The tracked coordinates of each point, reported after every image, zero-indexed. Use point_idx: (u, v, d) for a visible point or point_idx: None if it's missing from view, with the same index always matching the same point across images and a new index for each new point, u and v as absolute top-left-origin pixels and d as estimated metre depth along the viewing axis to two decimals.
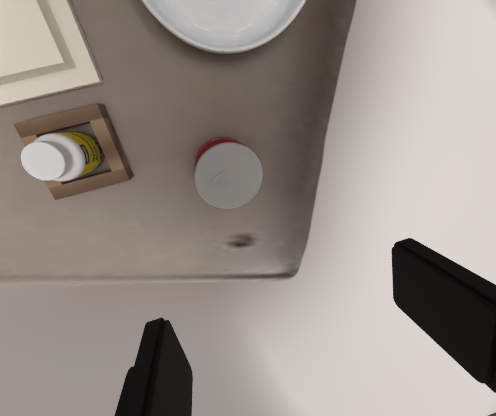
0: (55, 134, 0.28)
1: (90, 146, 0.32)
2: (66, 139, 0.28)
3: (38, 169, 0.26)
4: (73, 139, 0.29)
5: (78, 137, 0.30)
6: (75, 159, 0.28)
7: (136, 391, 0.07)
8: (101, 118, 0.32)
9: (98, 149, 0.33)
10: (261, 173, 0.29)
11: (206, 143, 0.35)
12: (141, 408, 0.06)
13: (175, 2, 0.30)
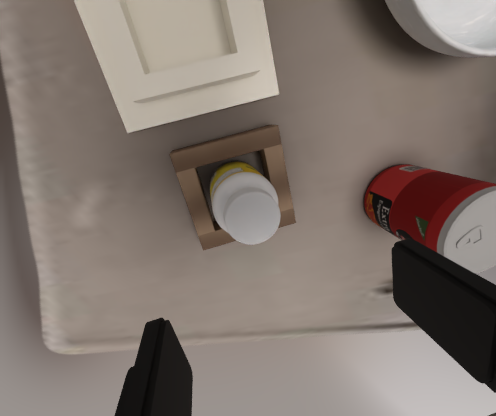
0: (251, 174, 0.19)
1: None
2: (265, 181, 0.19)
3: (245, 229, 0.18)
4: (267, 180, 0.20)
5: (259, 173, 0.22)
6: None
7: (136, 391, 0.07)
8: (279, 144, 0.23)
9: None
10: None
11: (394, 174, 0.27)
12: (141, 409, 0.06)
13: None
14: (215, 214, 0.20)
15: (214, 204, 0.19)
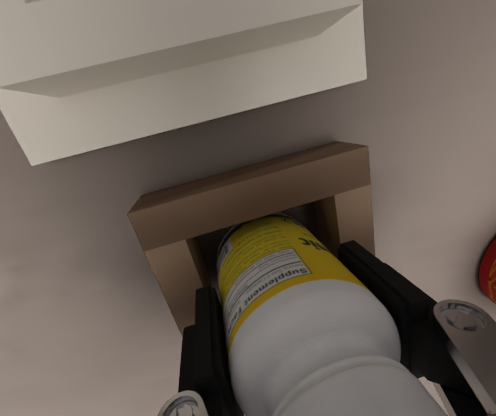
0: (339, 291, 0.07)
1: None
2: (378, 308, 0.07)
3: None
4: None
5: (335, 258, 0.09)
6: None
7: (202, 338, 0.08)
8: (366, 186, 0.11)
9: None
10: None
11: None
12: (211, 349, 0.07)
13: None
14: (238, 399, 0.07)
15: (236, 376, 0.07)
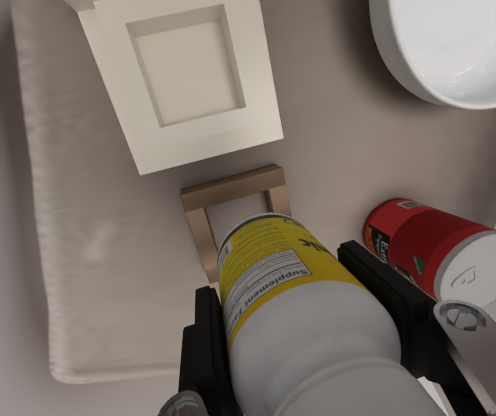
0: (339, 293, 0.07)
1: None
2: (379, 309, 0.07)
3: None
4: None
5: (335, 259, 0.10)
6: None
7: (202, 338, 0.08)
8: (283, 185, 0.25)
9: None
10: None
11: (392, 210, 0.28)
12: (211, 349, 0.07)
13: None
14: (239, 400, 0.07)
15: (236, 378, 0.07)
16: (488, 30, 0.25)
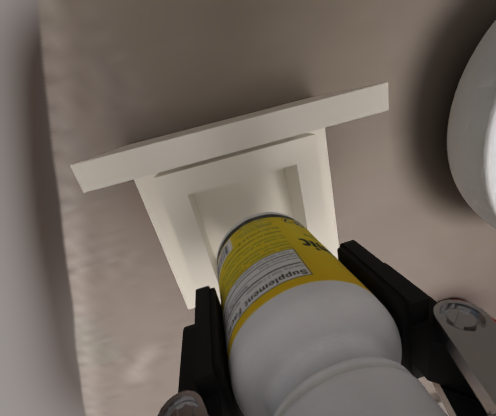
0: (340, 292, 0.07)
1: None
2: (380, 309, 0.07)
3: None
4: None
5: (336, 259, 0.09)
6: None
7: (202, 338, 0.08)
8: None
9: None
10: None
11: None
12: (211, 349, 0.07)
13: None
14: (238, 401, 0.07)
15: (236, 378, 0.07)
16: None
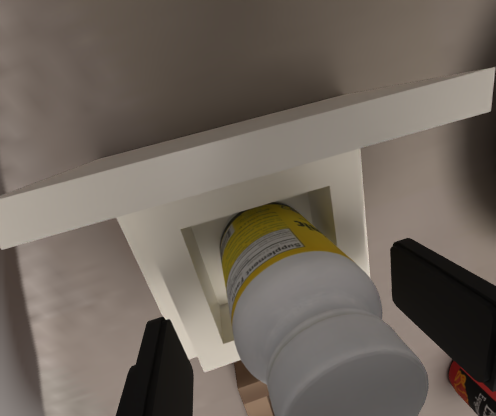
0: (327, 260, 0.08)
1: None
2: (361, 274, 0.08)
3: None
4: None
5: (327, 238, 0.11)
6: None
7: (138, 389, 0.07)
8: None
9: None
10: None
11: None
12: (143, 407, 0.06)
13: None
14: (241, 354, 0.08)
15: (239, 333, 0.08)
16: None
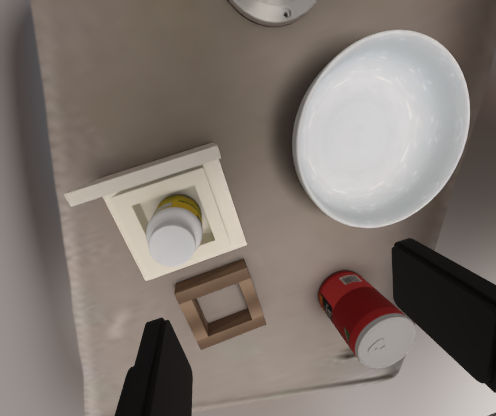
0: (175, 209, 0.24)
1: (199, 212, 0.28)
2: (187, 213, 0.24)
3: (166, 255, 0.22)
4: (191, 212, 0.25)
5: (189, 205, 0.27)
6: (196, 235, 0.24)
7: (136, 391, 0.07)
8: (249, 278, 0.34)
9: (200, 212, 0.30)
10: (415, 335, 0.31)
11: (335, 284, 0.37)
12: (141, 409, 0.06)
13: (319, 175, 0.33)
14: (148, 243, 0.24)
15: (146, 235, 0.24)
16: (391, 156, 0.34)
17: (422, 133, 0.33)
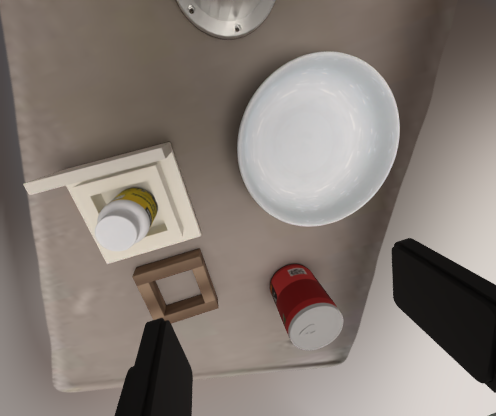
0: (123, 201, 0.27)
1: (151, 205, 0.31)
2: (134, 206, 0.27)
3: (110, 241, 0.26)
4: (139, 205, 0.28)
5: (141, 198, 0.30)
6: (142, 225, 0.28)
7: (136, 391, 0.07)
8: (202, 266, 0.38)
9: (155, 205, 0.33)
10: (342, 323, 0.35)
11: (283, 275, 0.41)
12: (141, 409, 0.06)
13: (268, 176, 0.36)
14: None
15: (97, 222, 0.27)
16: (336, 162, 0.38)
17: (364, 143, 0.36)
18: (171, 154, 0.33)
